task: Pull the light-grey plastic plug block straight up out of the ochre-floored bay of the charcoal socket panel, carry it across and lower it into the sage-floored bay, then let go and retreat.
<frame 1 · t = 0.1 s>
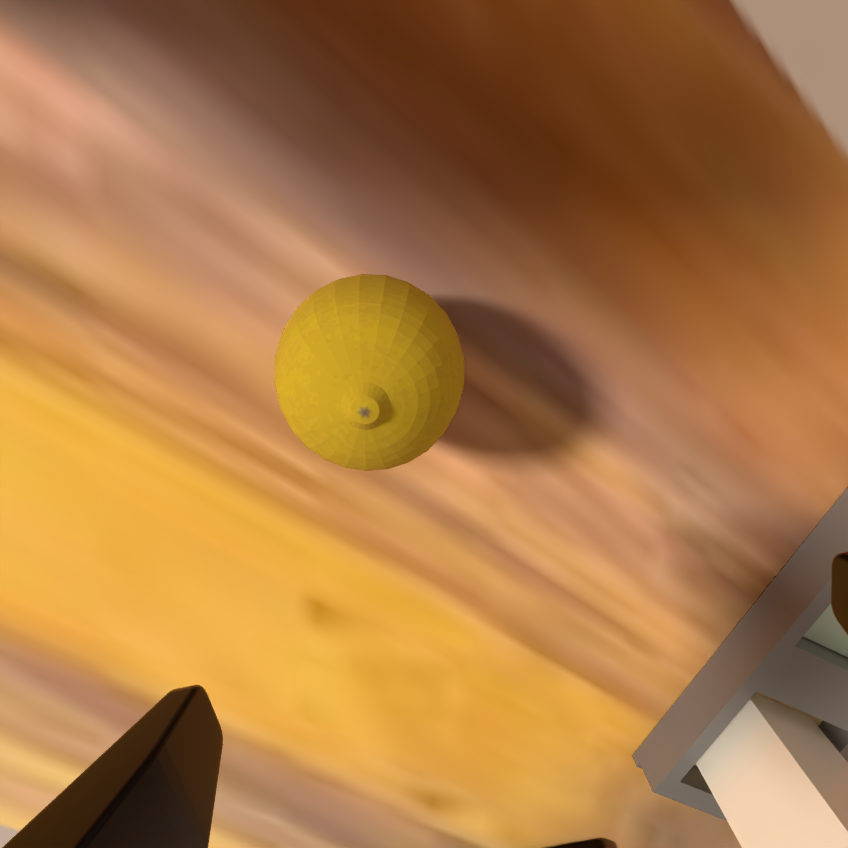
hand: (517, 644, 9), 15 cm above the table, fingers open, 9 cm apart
plug: (748, 733, 28), point 1 cm above the table, touching socket panel
socket panel: (795, 657, 27), on the table
lemon: (375, 342, 22), on the table
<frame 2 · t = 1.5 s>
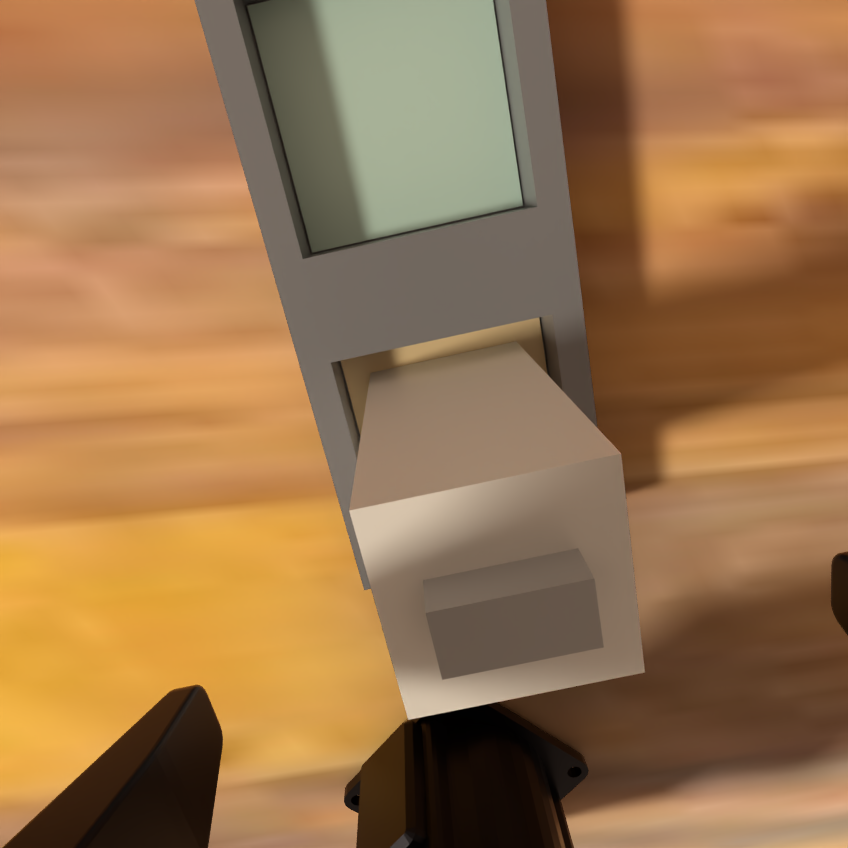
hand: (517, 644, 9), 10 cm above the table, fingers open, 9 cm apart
plug: (457, 425, 17), point 1 cm above the table, touching socket panel
socket panel: (426, 278, 16), on the table
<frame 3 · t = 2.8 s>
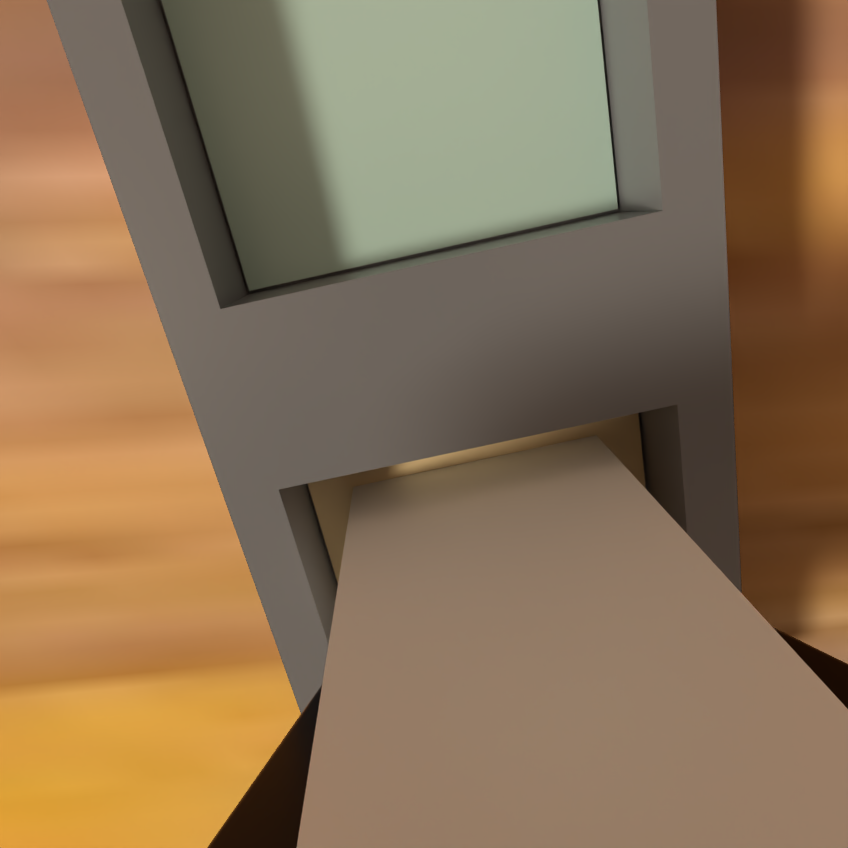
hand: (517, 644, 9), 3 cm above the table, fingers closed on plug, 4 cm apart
plug: (495, 565, 10), point 1 cm above the table, touching gripper, socket panel
socket panel: (445, 329, 10), on the table
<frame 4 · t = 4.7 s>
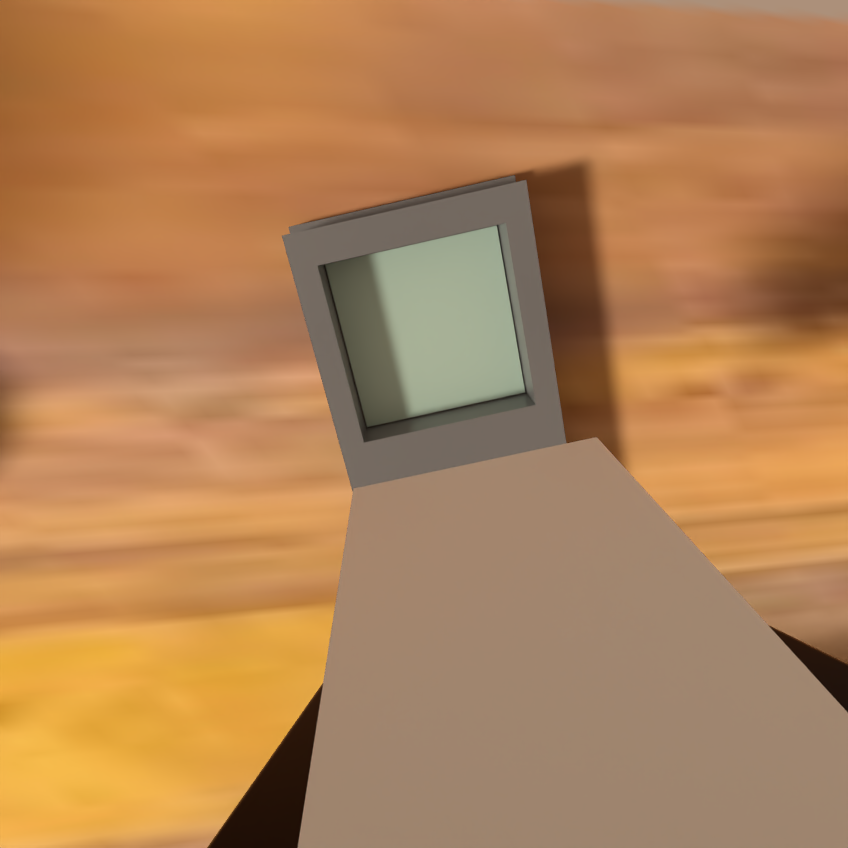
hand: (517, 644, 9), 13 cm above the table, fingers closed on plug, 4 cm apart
plug: (495, 567, 10), point 11 cm above the table, touching gripper
socket panel: (451, 438, 21), on the table
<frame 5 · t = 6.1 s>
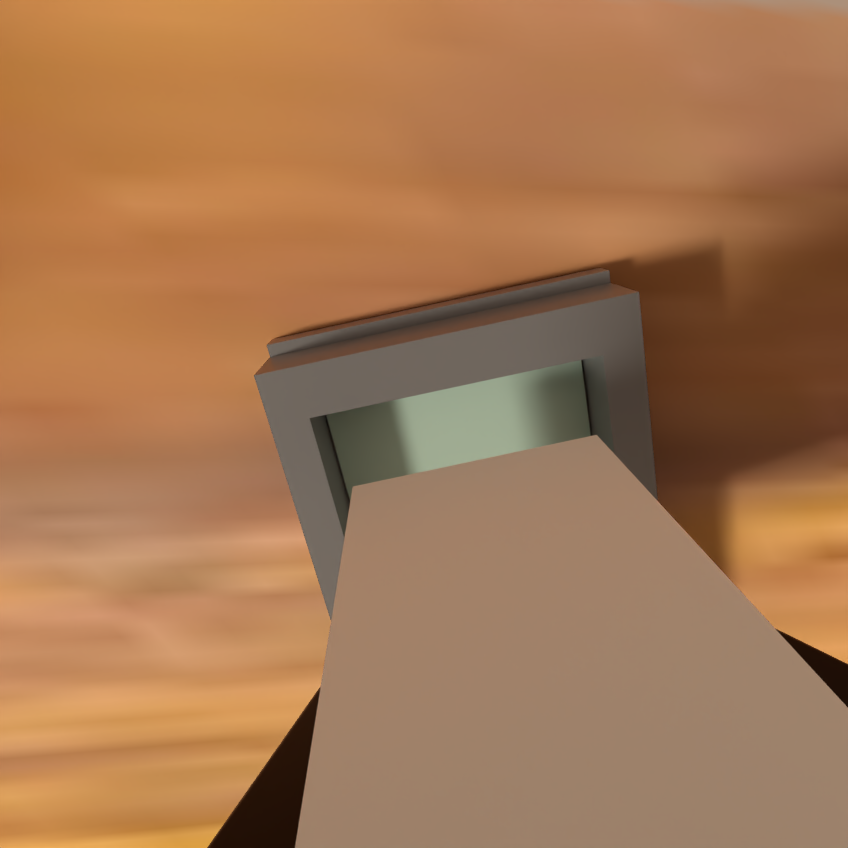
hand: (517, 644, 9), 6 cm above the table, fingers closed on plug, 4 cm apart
plug: (495, 566, 10), point 4 cm above the table, touching gripper
socket panel: (498, 616, 15), on the table
when the fingers open (4 cm above the table, at t = 6.9 s): plug stays where it is, resting on socket panel.
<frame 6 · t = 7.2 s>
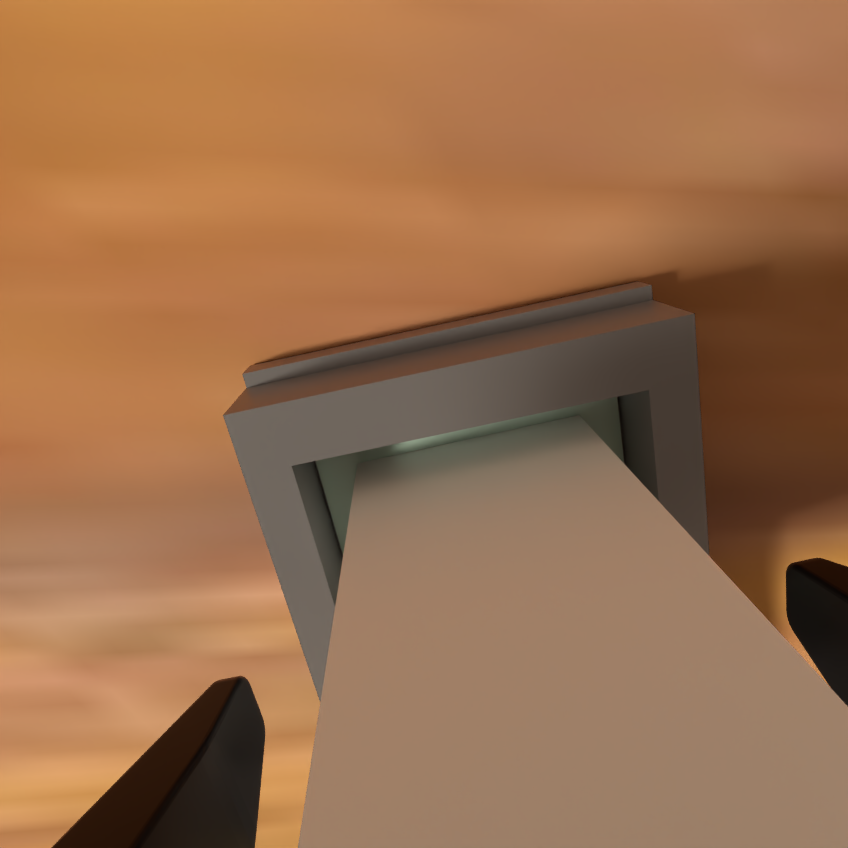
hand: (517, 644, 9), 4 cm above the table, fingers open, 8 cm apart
plug: (487, 536, 11), point 1 cm above the table, touching socket panel
socket panel: (513, 678, 13), on the table
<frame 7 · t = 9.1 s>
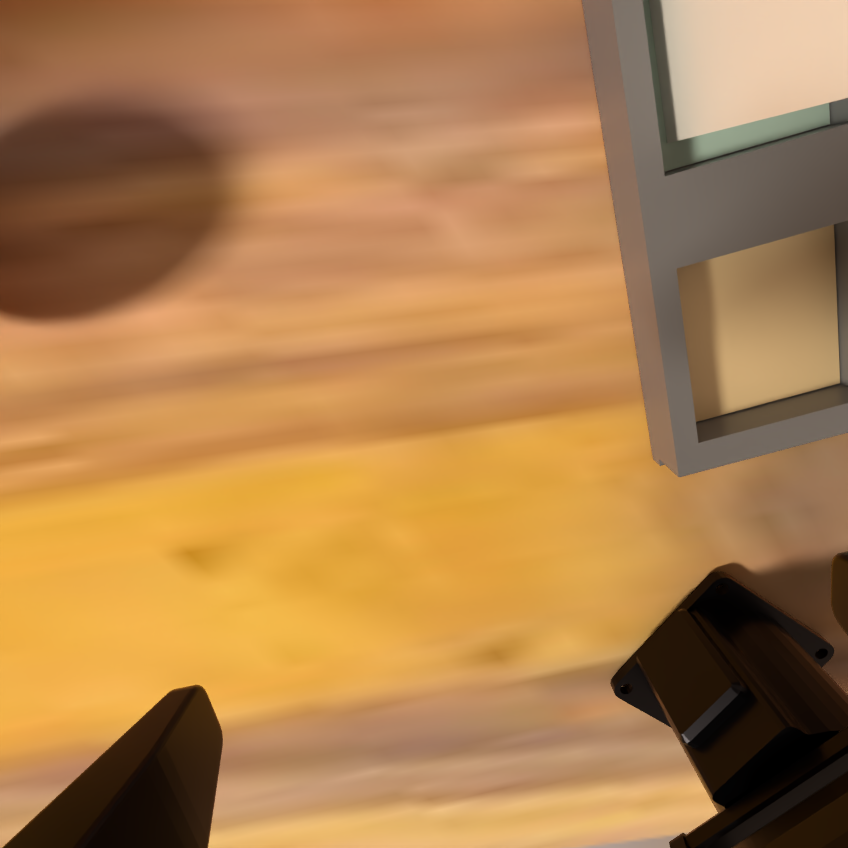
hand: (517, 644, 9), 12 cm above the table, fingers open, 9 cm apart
plug: (728, 45, 17), point 1 cm above the table, touching socket panel
socket panel: (728, 197, 19), on the table
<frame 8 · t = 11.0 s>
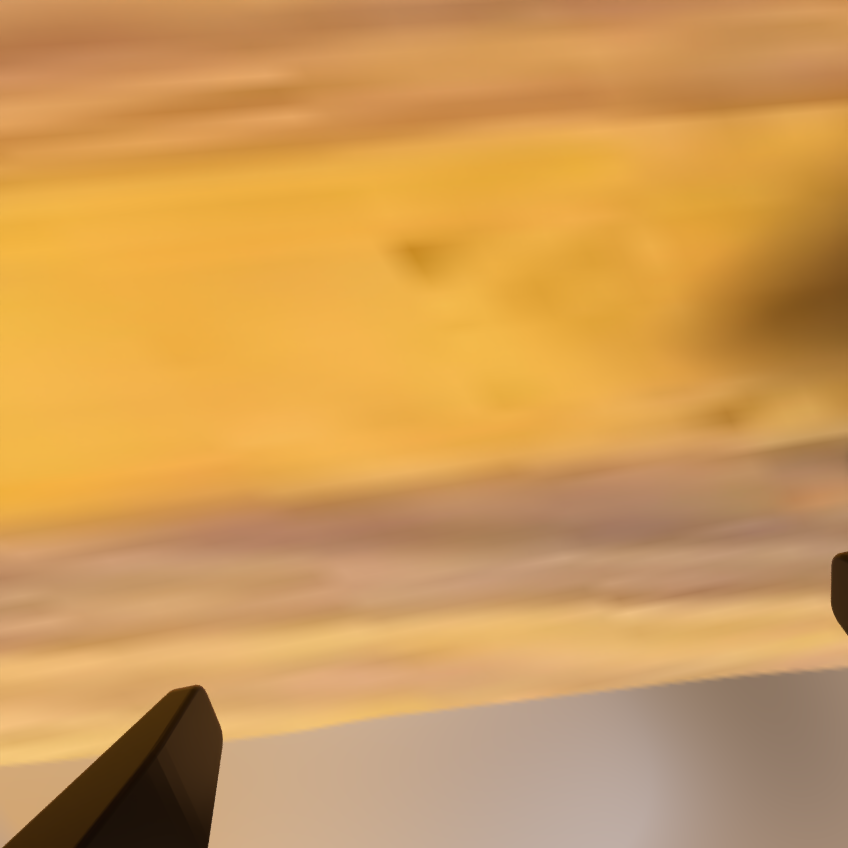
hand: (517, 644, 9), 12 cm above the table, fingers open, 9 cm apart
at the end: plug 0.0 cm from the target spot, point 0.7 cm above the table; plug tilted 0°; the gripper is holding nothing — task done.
